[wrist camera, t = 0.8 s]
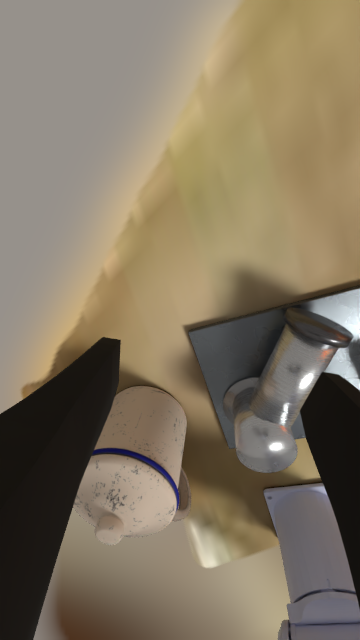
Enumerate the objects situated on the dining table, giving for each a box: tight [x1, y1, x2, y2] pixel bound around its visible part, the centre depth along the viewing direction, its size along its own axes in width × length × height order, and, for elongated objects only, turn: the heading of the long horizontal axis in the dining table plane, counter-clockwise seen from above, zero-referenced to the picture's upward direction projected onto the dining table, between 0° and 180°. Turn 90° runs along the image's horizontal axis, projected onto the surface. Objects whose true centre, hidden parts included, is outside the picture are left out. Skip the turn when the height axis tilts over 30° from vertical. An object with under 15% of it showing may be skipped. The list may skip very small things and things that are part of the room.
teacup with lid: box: [73, 386, 191, 545], centre depth 24 cm, size 12×9×12 cm
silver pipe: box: [232, 307, 354, 473], centre depth 21 cm, size 13×5×5 cm, turn 164°
